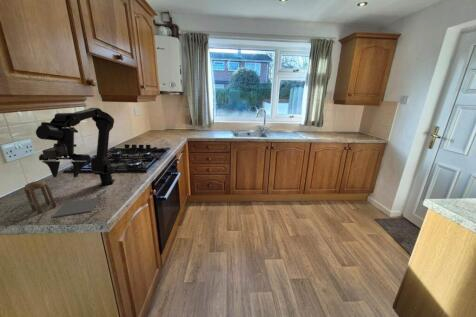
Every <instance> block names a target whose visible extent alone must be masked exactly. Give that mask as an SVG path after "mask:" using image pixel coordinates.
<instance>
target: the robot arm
mask: <svg viewBox="0 0 476 317" xmlns="http://www.w3.org/2000/svg"><path fill="white" fill-rule="evenodd" d="M87 119H92V121H93V122H94V123H95V126H96V128H97V131H98V135H97V145H96V155H95V157H94V158H92V159H91V156H90V154H88V153H87V154H83V153H82V154H81V153H78V154H77V153H75V147H76V148H77V144H75V134H76V133H79V131H78V129H76V126H78V125H79V124H80V123H81V121H85V120H87ZM114 124H115V119H114V118H113V116H112V115H111V114H109V113H107V112H105V111H103V110H102V109H100V108H98V107H89V108H87V109H81V110H79V111H75V112H57V113H55V114H54V117H53V118H52V119H51V121H50V122H46V121H42V122H40V125H39V126H38V127H37V128H36V129H35V135H36V137H37V138H38V139H40V140H48V141H55V142H56V143H55V142H54V143H53V147H49V148H45V149H42V153H41V154H40V155H39V156H38V160H39V161H41V163H43V164H46V166H48V169H49V170H50V173H51V175H52V176H53V178H57V176H58V173H59V168H60V163H61V161H60V160H65V161H66V160H72V161H70V163H71V164H72V165H73V166H72V167H73V168H72V170H73V171H72V172H73V178H77V177H78V175H79V174H80V173H81V171H82V169H83V168H84V166H85V165H86V164H87V163H89V162H91V163H90V169H91V171H92V173H93V175H95V176H96V175H98V176H99V180H100V183H99V184H98V186H99V187H102V186H104V187H105V186H111V185H113V184H114V183H115V181H116V179H115V178H114V179H113V174H114V173H115V171H116V169H115V167H113V165H111V161H110V159H109V158H108V152H109V151H108V150H109V142H110V140H109V139H110V138H109V137H110V132H111V131H112V129H113V128H114Z"/></svg>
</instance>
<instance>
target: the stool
mask: <svg viewBox="0 0 476 317" xmlns="http://www.w3.org/2000/svg"><path fill="white" fill-rule="evenodd" d="M39 189H40V190H41V192H42V194H43V198H44V201H45V203H46V205H47V206H50V205H51V207H52V208H56V207H57V205H56V202H55V199H54V196H53V193H52V190H51V187H50V185H49V184H47V182H46V180H42V179H41V180H36V181H32V182H29V183H27V184H25V185H24V188H23V190H24V192H25V194H26V198H27V200H28V203H29V205H30V208H31V210H32V212H35V211H36V212H37V214H39V215H40V214H42V213H43V211H42V209H41V206H40V204H39V200H38V198H37V196H36V193H35V190H39Z"/></svg>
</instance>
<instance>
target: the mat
mask: <svg viewBox="0 0 476 317" xmlns="http://www.w3.org/2000/svg"><path fill="white" fill-rule="evenodd" d="M99 200H100V197H94V198H85V199H78V200H70V201H65V202H64V203H63V204H62V206H61V207H60V208H58V210H57V211H56V212H55V213H54V214H53V215H52V218H58V217H65V216H71V215H79V214H85V213H91V212H93V209H94V208H95V207H96V204H97V203H98V202H99Z"/></svg>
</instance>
